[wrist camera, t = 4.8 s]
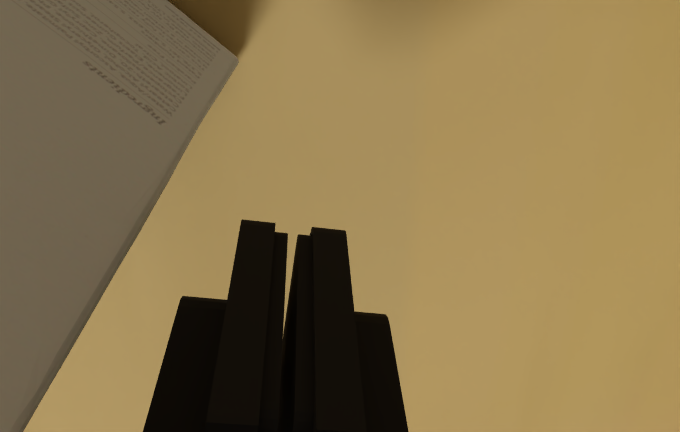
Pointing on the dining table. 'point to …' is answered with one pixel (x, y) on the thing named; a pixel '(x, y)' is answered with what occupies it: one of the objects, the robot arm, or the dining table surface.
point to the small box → (84, 162)
